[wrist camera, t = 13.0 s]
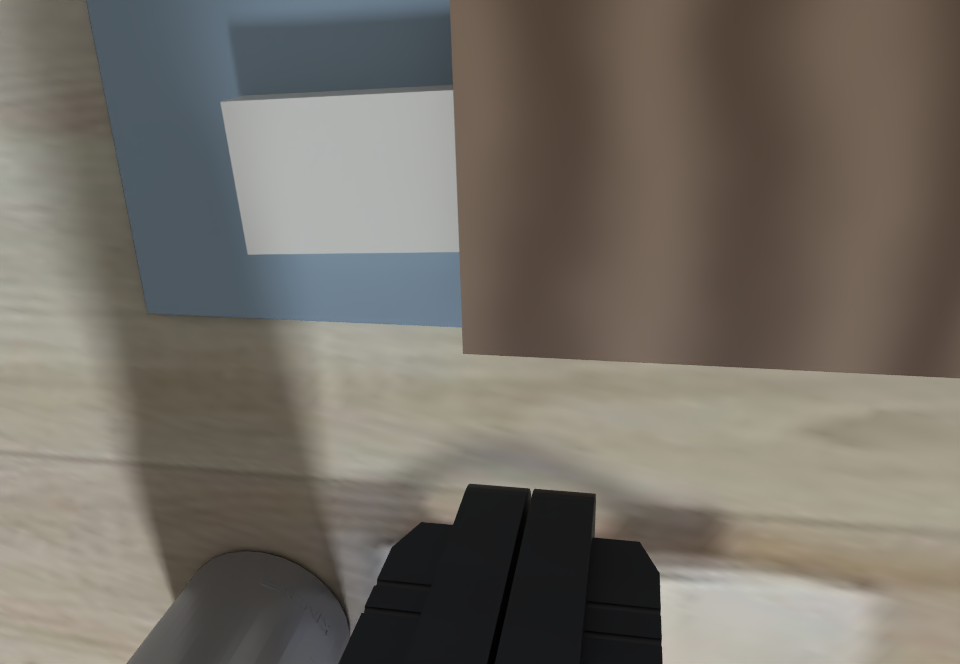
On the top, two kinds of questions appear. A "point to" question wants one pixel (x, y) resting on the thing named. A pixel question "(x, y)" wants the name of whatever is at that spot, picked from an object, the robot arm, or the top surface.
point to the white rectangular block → (345, 170)
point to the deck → (711, 182)
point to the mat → (206, 159)
